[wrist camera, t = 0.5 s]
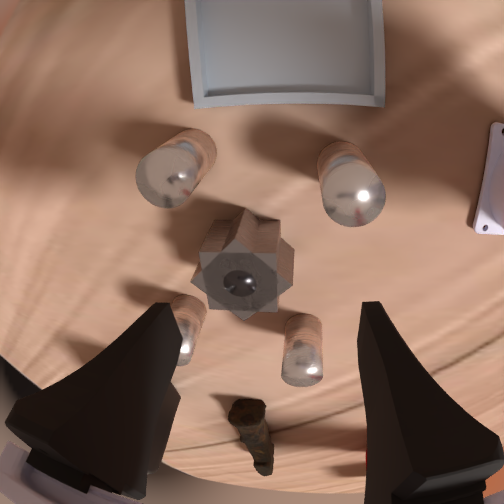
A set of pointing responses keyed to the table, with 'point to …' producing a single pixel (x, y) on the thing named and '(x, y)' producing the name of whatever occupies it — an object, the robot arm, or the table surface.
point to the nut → (244, 265)
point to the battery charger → (163, 427)
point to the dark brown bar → (254, 432)
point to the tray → (286, 52)
